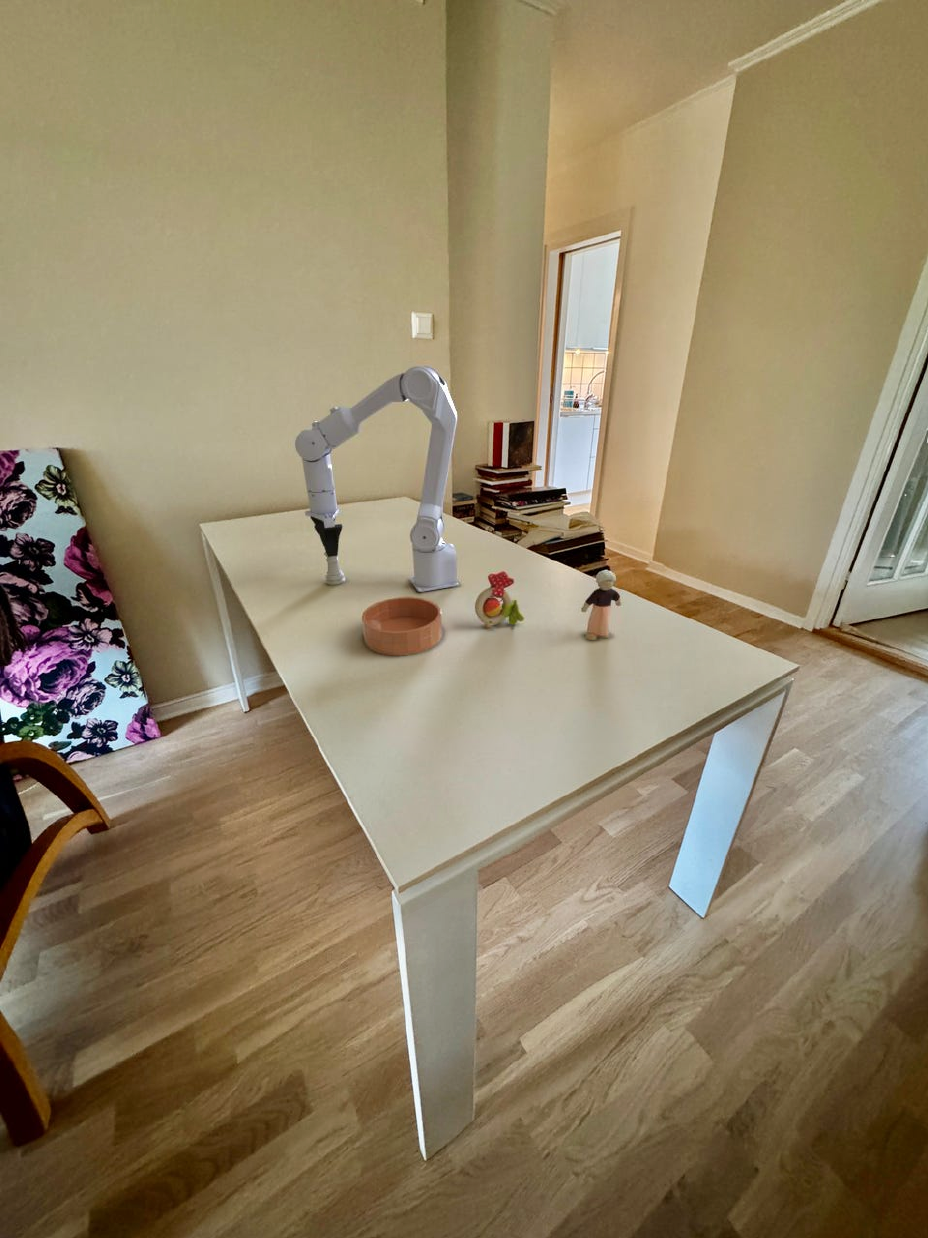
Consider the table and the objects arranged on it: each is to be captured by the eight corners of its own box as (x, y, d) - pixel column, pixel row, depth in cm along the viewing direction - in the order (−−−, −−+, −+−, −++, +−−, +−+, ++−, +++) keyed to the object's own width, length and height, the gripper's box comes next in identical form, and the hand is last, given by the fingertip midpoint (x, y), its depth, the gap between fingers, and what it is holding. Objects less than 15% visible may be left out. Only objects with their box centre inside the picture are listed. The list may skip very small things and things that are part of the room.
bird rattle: (496, 644, 89) (535, 617, 91) (474, 599, 83) (516, 571, 85) (481, 629, 94) (517, 604, 96) (459, 586, 88) (498, 560, 90)
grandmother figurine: (589, 645, 84) (597, 578, 79) (575, 635, 87) (582, 570, 82) (622, 634, 88) (632, 569, 82) (607, 625, 91) (616, 562, 85)
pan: (428, 612, 97) (427, 592, 95) (452, 645, 85) (452, 623, 83) (358, 625, 92) (355, 604, 90) (373, 662, 81) (370, 639, 78)
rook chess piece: (349, 580, 112) (345, 547, 109) (335, 587, 109) (330, 553, 105) (336, 576, 115) (331, 544, 111) (321, 583, 111) (316, 550, 108)
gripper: (298, 484, 106) (308, 543, 113) (304, 498, 94) (315, 563, 101) (331, 481, 109) (339, 539, 115) (340, 495, 97) (349, 558, 103)
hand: (330, 550), depth 108 cm, fingers open, 7 cm apart
